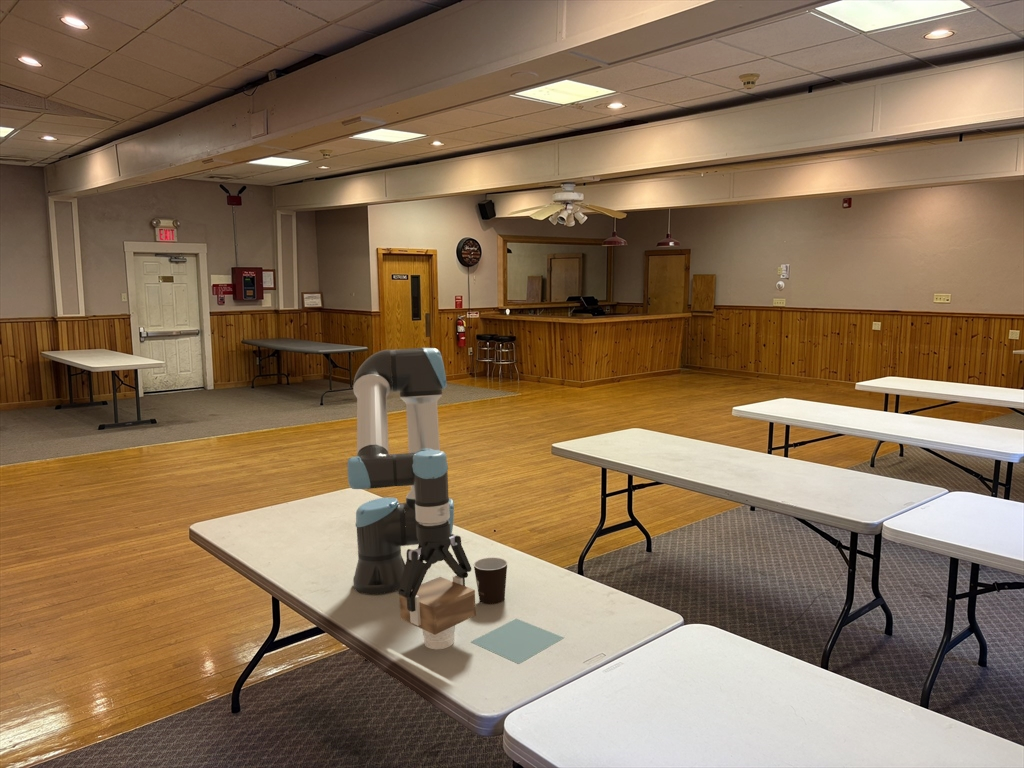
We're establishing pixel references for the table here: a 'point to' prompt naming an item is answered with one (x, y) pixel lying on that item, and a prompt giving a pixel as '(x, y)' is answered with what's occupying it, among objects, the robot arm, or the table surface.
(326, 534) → the table surface
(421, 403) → the robot arm
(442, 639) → the white cup
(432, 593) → the brown wooden block
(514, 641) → the mat
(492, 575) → the coffee mug
